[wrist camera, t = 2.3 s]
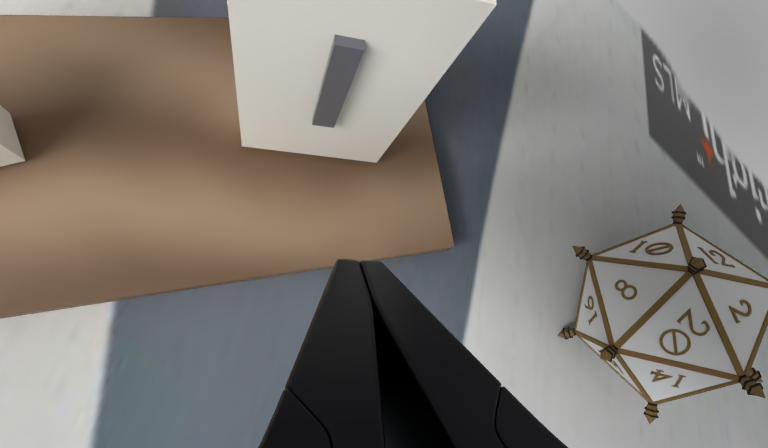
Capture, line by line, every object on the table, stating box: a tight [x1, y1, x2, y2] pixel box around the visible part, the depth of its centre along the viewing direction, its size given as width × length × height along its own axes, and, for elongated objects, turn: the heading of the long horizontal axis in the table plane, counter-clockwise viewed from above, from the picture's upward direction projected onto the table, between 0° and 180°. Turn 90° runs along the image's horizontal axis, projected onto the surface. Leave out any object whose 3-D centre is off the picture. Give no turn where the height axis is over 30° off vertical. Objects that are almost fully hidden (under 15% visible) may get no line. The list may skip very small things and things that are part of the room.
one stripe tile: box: [227, 0, 496, 163], centre depth 15 cm, size 2×6×11 cm, turn 88°
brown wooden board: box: [0, 15, 455, 318], centre depth 19 cm, size 12×26×1 cm, turn 100°
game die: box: [558, 204, 768, 424], centre depth 20 cm, size 9×8×10 cm
